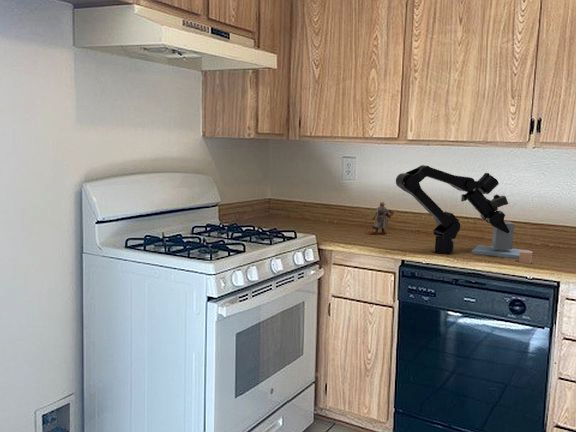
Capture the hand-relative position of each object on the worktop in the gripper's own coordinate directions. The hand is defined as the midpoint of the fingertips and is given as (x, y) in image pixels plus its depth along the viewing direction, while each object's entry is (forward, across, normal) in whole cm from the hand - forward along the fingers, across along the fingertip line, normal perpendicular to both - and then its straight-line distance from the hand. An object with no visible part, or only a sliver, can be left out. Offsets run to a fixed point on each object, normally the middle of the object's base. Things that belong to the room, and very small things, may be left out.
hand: (506, 231), depth 220 cm
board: (+5, 0, +7) cm, 9 cm away
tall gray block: (+4, 0, +6) cm, 7 cm away
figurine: (-27, +34, +40) cm, 59 cm away
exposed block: (+9, -15, +4) cm, 18 cm away
